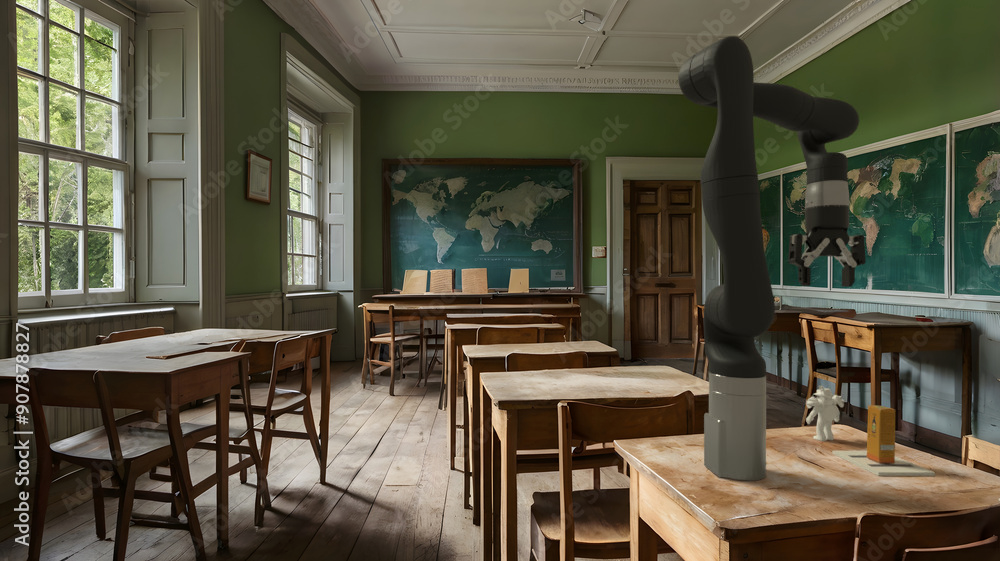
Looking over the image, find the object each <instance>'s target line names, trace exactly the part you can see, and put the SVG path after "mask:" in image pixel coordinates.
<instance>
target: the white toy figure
mask: <svg viewBox="0 0 1000 561" xmlns="http://www.w3.org/2000/svg"><path fill="white" fill-rule="evenodd" d="M831 390H832V389H831V388H826V387H824V385H818V389H816V392H815V393H813V394H812V395H811V396H810V398H808V399H807V400H805V405H806V407H807V409H811V408H813V409H812V410H811V411H810V413H809V414H808V416H807V417H806V418H805V421H806V423H807V425H810V424H811V422H812V421H814V420H815V418H814V417H816V416H817V421H816V428H815V431H816V435H813V440H816V441H821V442H827V441H834V433H833V431H832V425H833V421H834V422H835V423H839V421H840V410H839V408H838V406H839V407H840V408H844V406H845V403H844V402H845V399H843V398H842V395H838V394H835V393H832V391H831ZM814 395H815V396H814ZM837 405H838V406H837Z"/></svg>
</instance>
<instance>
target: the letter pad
mask: <svg viewBox="0 0 1000 561" xmlns="http://www.w3.org/2000/svg"><path fill="white" fill-rule="evenodd" d="M832 455H835V456H836V457H838V458H840V459H842V460H845V461H847V462H849V463H851V464H852V465H855V466H857V467H859V468H861V469H863V470H865V471H867V472H870V473H872V474H874V475H875V476H878V477H894V476H895V477H900V476H901V477H932V476H933V477H935V476H936V474H935V471H933V470H930V469H927V468H925V467H923V466H920V465H917V464H915V463H913V462H910V461H908V460H905V459H903V458H901V457H898V456H896V455H895V463H890V464H887V463H886V464H885V463H878V462H876V461H874V460H871V459H868V458H867V450H832Z"/></svg>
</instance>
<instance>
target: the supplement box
mask: <svg viewBox="0 0 1000 561" xmlns="http://www.w3.org/2000/svg"><path fill="white" fill-rule="evenodd" d="M866 439H867V440H866V451H867V458H868V459H871V460H874V461H876V462H878V463H885V464H886V463H887V464H890V463H895V456H896V455H895V454H896V452H895V451H896V449H895V448H896V409H894V408H892V407H887V406H883V405H874V404H872V405H871V404H869V405H868V406H867V435H866Z"/></svg>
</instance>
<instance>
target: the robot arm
mask: <svg viewBox="0 0 1000 561" xmlns="http://www.w3.org/2000/svg"><path fill="white" fill-rule="evenodd" d="M752 58H753V57H752V55H751V52H750V49H749V47H748V45H747V44H746V42H745V41H744V40H742V39H741V38H740V37H738V36H735V35H732V36H731V35H729V36H726V37H723V38H721V39H719V40H717V41H715V42H713V43H712V44H710V45H708V46H706V47H704V48H703V49H701V50H699V51H698V52H696V53H695V54H693V55H692V56H690V57H689V58H688V59H686V60H685V61H684V62H683V64H682V65H681V66H680V69H679V71H678V79H677V80H678V86H679V89H680V90H681V92H682V94H683V95H684V96H685V98H686V99H687V100H688V101H690V102H691V103H693V104H697V105H700V106H703V107H709V108H714V109H717V120H716V124H715V125H716V126H715V131H714V134H713V137H712V139H711V142H710V144H709V147H708V149H707V152H706V154H705V157H704V160H703V164H702V167H701V170H700V176H699V177H700V178H699V179H700V189H701V190H700V191H701V202H702V210H703V214H704V217H705V218H704V219H705V221H706V224H707V225H708V228H709V230H710V232H711V234H712V236H713V239H714V240H715V242H716V245H717V247H718V250H719V253H720V256H721V263H722V273H723V284H719V285H717V286H715V287H713V289H711V291H709V293H708V294H707V296H706V299H705V301H704V306H703V337H704V338H703V340H704V341H703V342H704V344H703V345H704V352H705V356H706V359H707V362H708V412H705V413H704V416H703V418H704V419H703V422H704V423H703V428H704V429H703V430H704V431H703V434H704V435H703V436H704V437H703V441H704V442H703V465H704V466H705V467H706V469H708V470H710V471H711V472H712V473H713V474H715V475H716V476H717V477H719V478H727V479H728V478H729V479H733V480H738V481H758V480H762V479H764V478H765V477H766V476H767V362H766V360H765V358H764V357H763V356H762V355H761V354H760V352H759V350H758V349H757V346H756V342H755V341H756V340H755V338H756V337H759V336H762V335H763V334H765V333H766V332H767V331H768V330H769V328H771V326H772V323H773V321H774V318H775V313H776V311H775V310H776V306H775V297H774V292H773V288H772V282H771V278H770V273H769V269H768V263H767V260H766V253H765V245H764V232H763V222H762V216H761V215H762V214H761V197H760V186H759V175H758V168H757V161H756V149H755V134H754V118H759V119H761V120H764V121H767V122H770V123H771V124H775V125H776V126H778V127H780V128H781V127H782V128H784V129H786V130H788V131H792V132H796V134H797V138H798V141H799V142H798V143H799V144H800V147H801V150H802V154H803V159H804V163H805V165H806V189H805V196H804V197H805V198H804V208H805V209H804V216H805V217H804V227H805V231H806V233H805V234H802V233H796V234H791V235H789V248H788V260H787V262H788V264H789V265H794V266H796V267H797V272H798V275H797V277H798V284H800V286H801V287H810V286H811V283H812V282H811V280H812V279H811V275H812V274H811V267H810V266H811V264H812V263H813V261H814V260H816V259H817V258H819V257H834V259H835V260H837V261H838V262H839V264H840V265H841V266H842V268H841V287H844V288H845V287H847V288H849V287H850V288H851V287H853V285H854V284H855V278H856V277H855V276H856V268H857V267H859V266H861V265H865V264H866V247H865V236H864V235H862V234H855V235H849V234H848V228H849V226H850V192H849V183H848V181H849V180H848V171H849V170H848V166H849V164H848V163H849V162H848V157H847V155H846V154H844V153H843V152H837V151H836V152H834V151H831V152H827V148H826V145H825V144H829V143H832V142H836V141H841V140H845V139H847V138H849V137H851V136H852V135H854V134H855V132H857V130H858V127H859V125H860V116H859V113H858V111H857V110H856V108H855V107H854V106H853V105H851V104H850V103H848V102H846V101H844V100H841V99H835V98H829V97H821V96H812V95H810V93H807V92H805V91H802V90H800V89H798V88H796V87H793V86H792V85H791V86H790V85H786V84H780V83H773V82H772V83H771V82H770V83H769V82H756V81H755V82H754V80H755V77H754V76H755V74H754V63H753V60H752ZM804 243H805V244H806V246H807V248H806V249H805V251H803V245H804ZM848 245H849V247H850V250H849V249H848V247H847V246H848Z"/></svg>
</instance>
